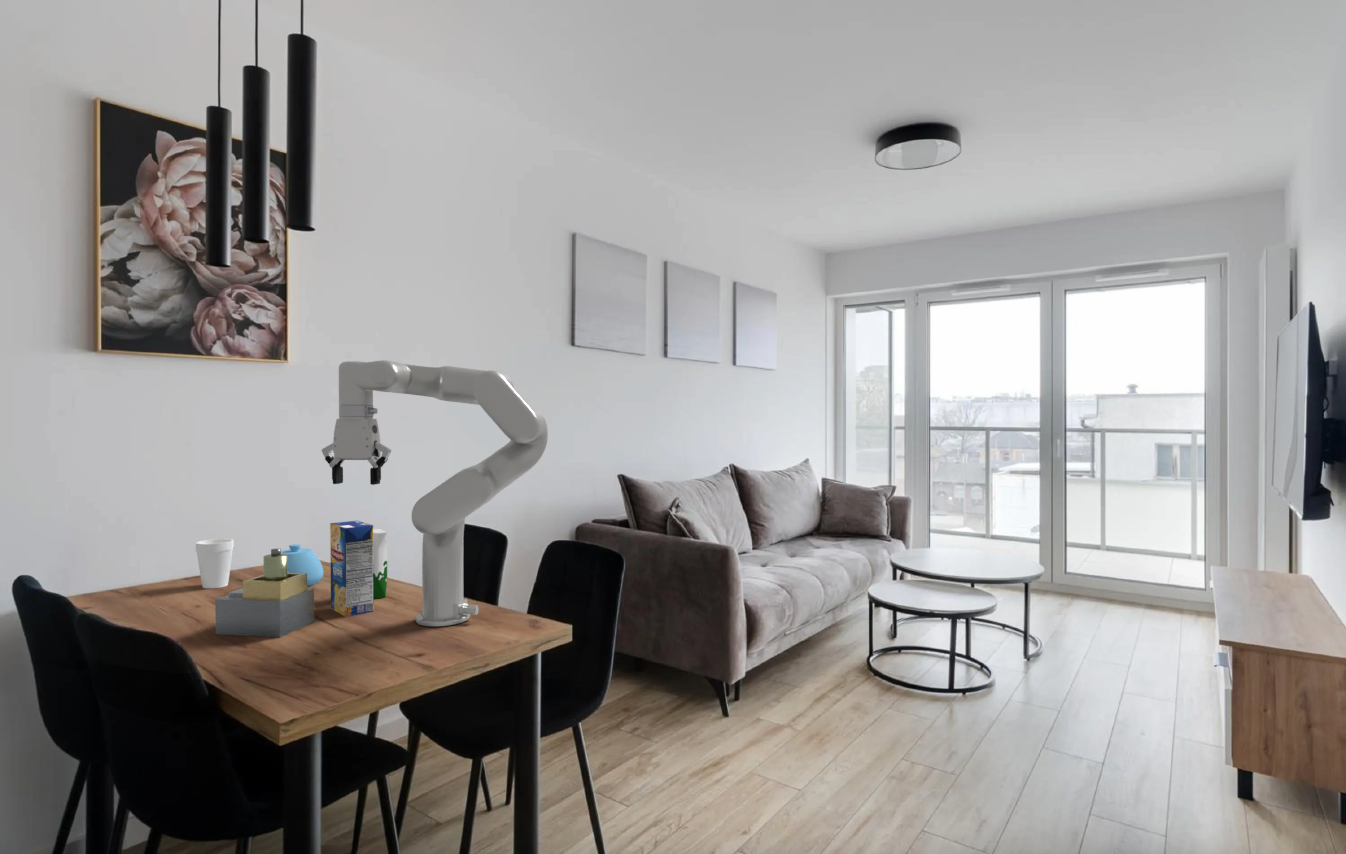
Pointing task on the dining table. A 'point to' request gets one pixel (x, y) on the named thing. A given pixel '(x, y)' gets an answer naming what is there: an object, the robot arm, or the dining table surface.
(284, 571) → the green bottle
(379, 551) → the milk carton
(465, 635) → the dining table surface
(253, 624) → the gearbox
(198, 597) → the dining table surface
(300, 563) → the sugar bowl
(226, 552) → the foam cup
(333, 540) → the beverage box
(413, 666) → the dining table surface
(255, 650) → the dining table surface
